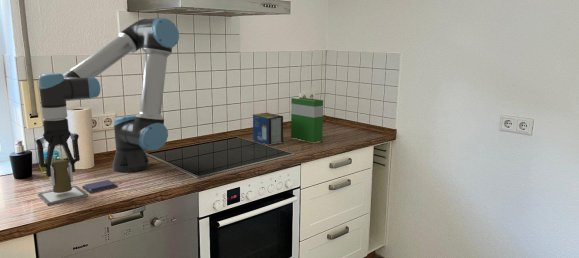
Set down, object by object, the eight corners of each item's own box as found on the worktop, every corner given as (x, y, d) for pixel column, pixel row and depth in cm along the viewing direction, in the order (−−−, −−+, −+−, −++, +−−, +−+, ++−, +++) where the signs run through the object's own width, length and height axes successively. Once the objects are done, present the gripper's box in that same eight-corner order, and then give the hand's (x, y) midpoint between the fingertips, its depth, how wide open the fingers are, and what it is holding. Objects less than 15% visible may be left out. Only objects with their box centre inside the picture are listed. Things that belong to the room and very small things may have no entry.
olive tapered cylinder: (75, 187, 152) (72, 157, 150) (67, 192, 146) (64, 162, 144) (58, 187, 152) (55, 157, 150) (49, 192, 146) (46, 162, 144)
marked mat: (76, 187, 158) (76, 185, 158) (88, 196, 149) (88, 194, 149) (37, 195, 150) (37, 193, 149) (47, 205, 140) (47, 203, 140)
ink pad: (109, 182, 165) (109, 178, 164) (117, 187, 159) (117, 183, 159) (82, 187, 158) (82, 184, 158) (89, 193, 152) (89, 189, 152)
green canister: (291, 139, 244) (291, 98, 240) (299, 137, 250) (300, 97, 245) (313, 144, 232) (314, 101, 228) (322, 142, 237) (323, 100, 233)
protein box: (267, 138, 246) (267, 112, 243) (283, 143, 234) (283, 116, 231) (252, 140, 239) (252, 114, 236) (268, 145, 227) (268, 117, 224)
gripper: (79, 114, 153) (85, 175, 157) (22, 120, 140) (29, 186, 145) (86, 117, 147) (92, 180, 152) (27, 123, 135) (35, 191, 140)
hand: (61, 182), depth 148 cm, fingers closed on olive tapered cylinder, 5 cm apart
